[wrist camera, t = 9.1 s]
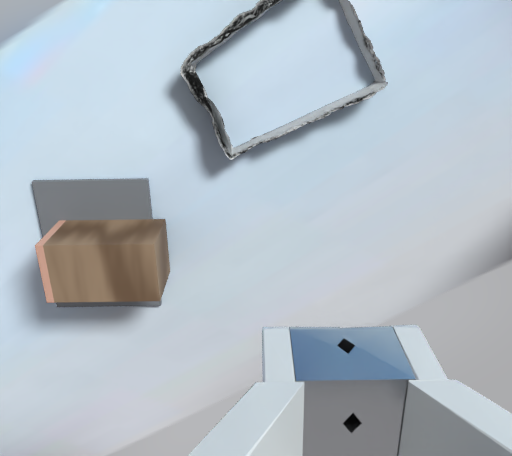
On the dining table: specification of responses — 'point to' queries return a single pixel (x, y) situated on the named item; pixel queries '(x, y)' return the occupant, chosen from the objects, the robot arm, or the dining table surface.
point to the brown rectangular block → (104, 260)
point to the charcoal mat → (92, 209)
